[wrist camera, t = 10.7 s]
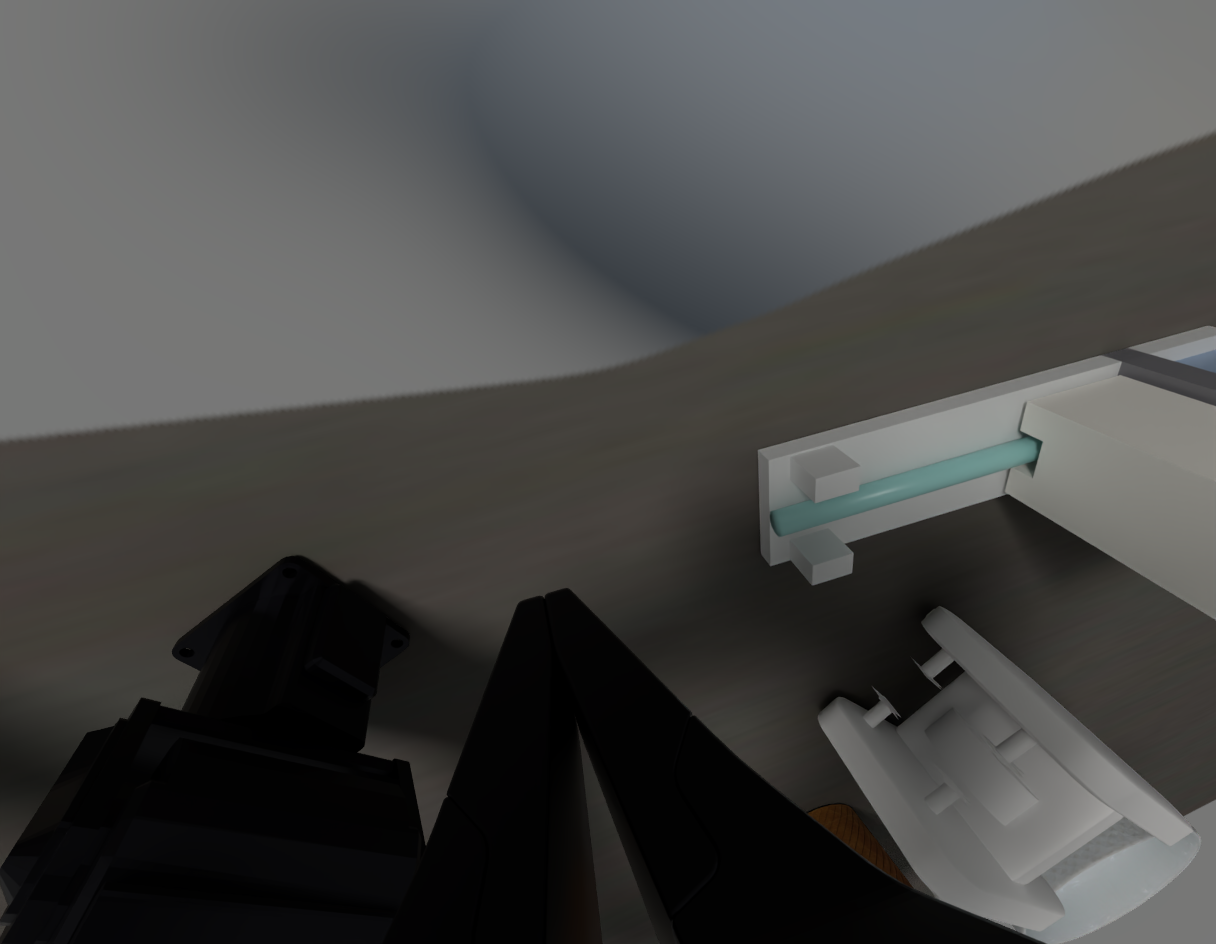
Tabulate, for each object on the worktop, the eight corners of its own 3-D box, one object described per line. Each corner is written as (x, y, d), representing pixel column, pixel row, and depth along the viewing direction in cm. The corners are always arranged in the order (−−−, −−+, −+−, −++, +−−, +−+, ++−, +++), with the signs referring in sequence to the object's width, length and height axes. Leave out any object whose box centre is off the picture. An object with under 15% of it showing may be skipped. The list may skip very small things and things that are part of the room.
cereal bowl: (1151, 755, 53) (1241, 831, 47) (1036, 859, 59) (1102, 938, 53) (1042, 748, 47) (1130, 836, 41) (926, 866, 53) (986, 957, 47)
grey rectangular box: (1004, 492, 28) (1307, 675, 18) (1027, 401, 25) (1393, 557, 16) (1090, 465, 29) (1428, 629, 19) (1120, 375, 26) (1530, 509, 16)
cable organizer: (1021, 668, 40) (1211, 838, 30) (907, 760, 42) (1047, 945, 32) (923, 585, 32) (1130, 773, 23) (792, 702, 35) (927, 917, 25)
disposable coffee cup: (894, 799, 44) (1026, 989, 34) (815, 869, 47) (915, 1065, 37) (818, 780, 40) (943, 992, 30) (736, 858, 43) (825, 1077, 33)
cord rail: (760, 553, 28) (816, 625, 24) (757, 450, 25) (820, 510, 21) (1169, 430, 31) (1284, 474, 27) (1213, 324, 28) (1350, 354, 24)
